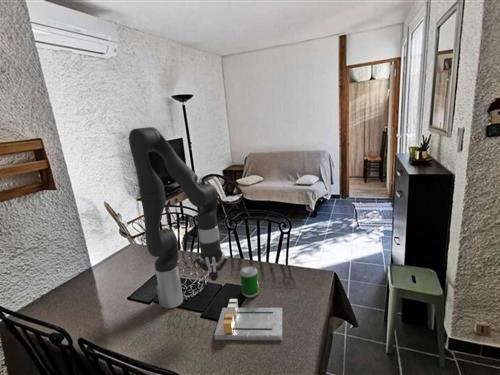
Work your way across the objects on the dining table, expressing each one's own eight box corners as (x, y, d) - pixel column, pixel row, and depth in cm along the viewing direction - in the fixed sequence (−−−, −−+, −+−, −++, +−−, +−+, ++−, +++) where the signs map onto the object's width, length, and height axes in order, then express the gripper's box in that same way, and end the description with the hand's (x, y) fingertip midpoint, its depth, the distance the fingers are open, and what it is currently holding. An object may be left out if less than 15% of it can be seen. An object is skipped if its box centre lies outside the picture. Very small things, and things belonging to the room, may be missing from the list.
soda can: (257, 299, 126) (255, 274, 123) (240, 298, 128) (238, 273, 125) (260, 288, 133) (258, 265, 130) (244, 288, 135) (242, 264, 132)
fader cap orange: (223, 332, 105) (222, 322, 104) (226, 323, 110) (225, 313, 109) (232, 333, 104) (231, 322, 103) (234, 323, 109) (233, 313, 108)
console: (214, 341, 105) (213, 336, 104) (223, 311, 120) (222, 307, 119) (282, 342, 102) (281, 337, 101) (282, 312, 117) (282, 307, 116)
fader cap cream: (228, 316, 114) (227, 306, 112) (230, 307, 118) (229, 298, 117) (236, 316, 113) (235, 306, 112) (238, 307, 118) (237, 298, 117)
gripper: (188, 242, 106) (195, 285, 110) (224, 241, 104) (229, 285, 109) (194, 234, 113) (200, 274, 117) (228, 233, 112) (233, 274, 116)
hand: (214, 279), depth 113 cm, fingers closed
